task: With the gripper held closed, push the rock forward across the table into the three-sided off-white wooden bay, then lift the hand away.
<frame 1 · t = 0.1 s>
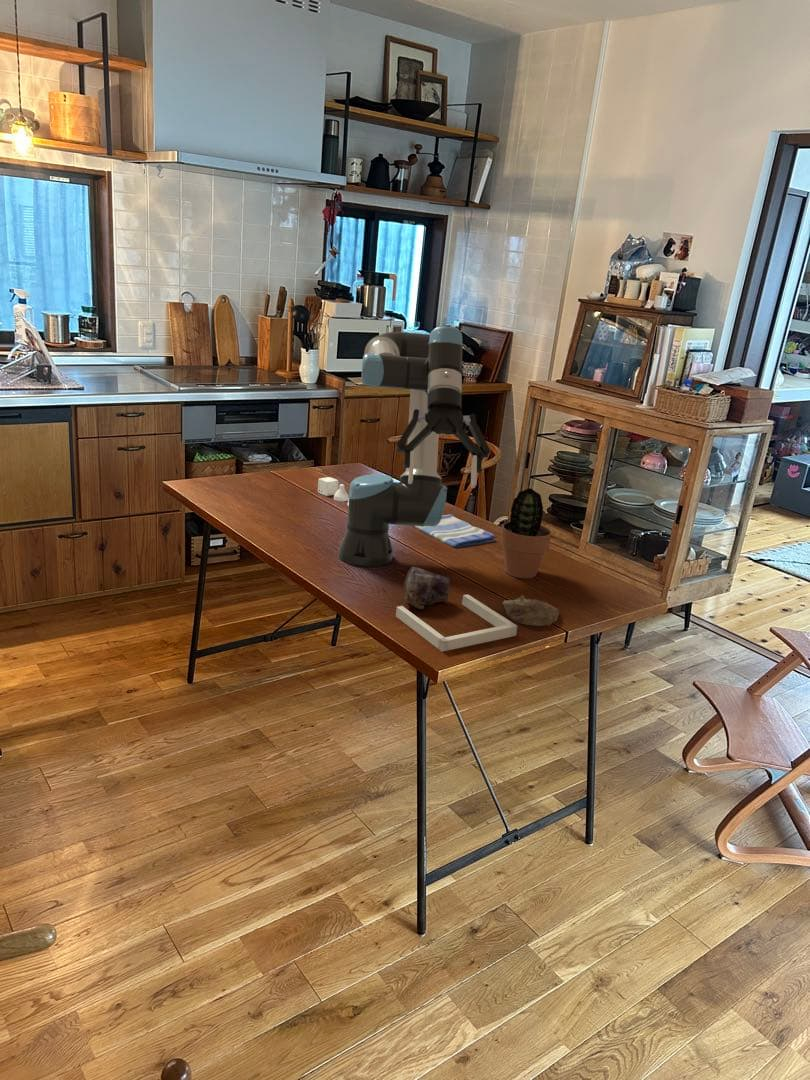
hand: (442, 484, 174), 36 cm above the table, fingers open, 13 cm apart
bay: (453, 624, 193), on the table
container set: (341, 500, 281), on the table
oyster shell: (532, 616, 202), on the table
dish towel: (451, 535, 257), on the table
rock: (421, 602, 204), on the table
potted plant: (520, 573, 229), on the table
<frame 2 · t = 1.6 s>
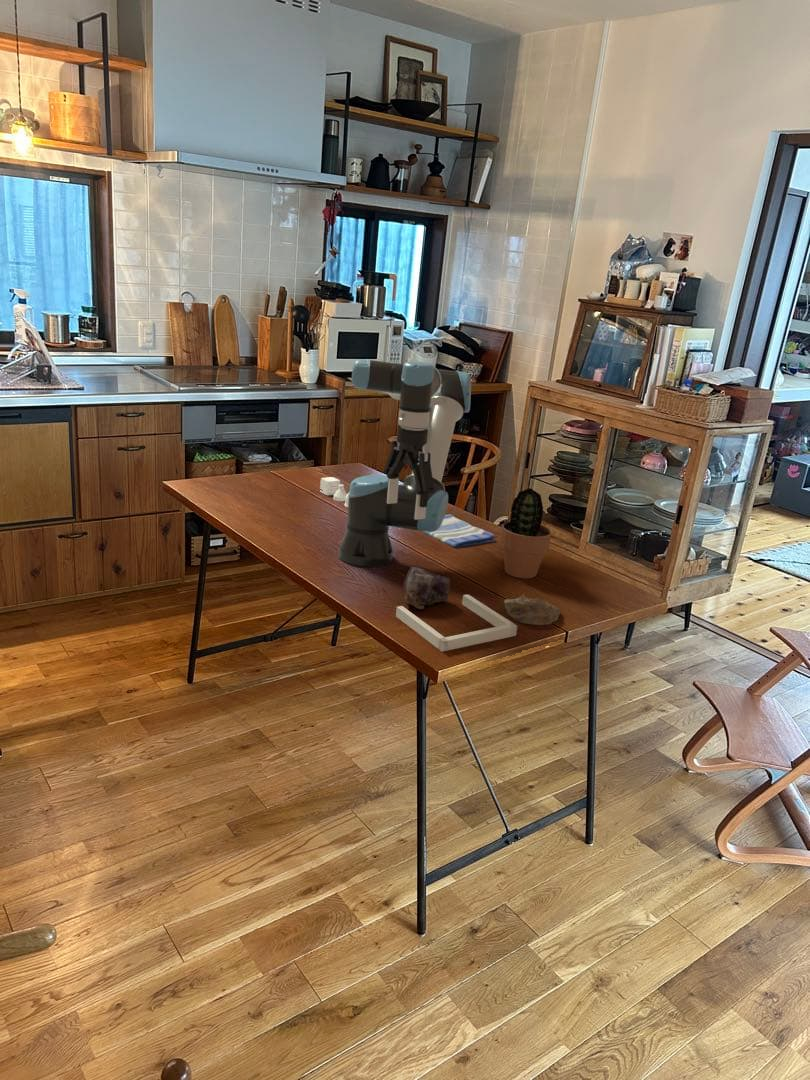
hand: (405, 510, 206), 20 cm above the table, fingers open, 12 cm apart
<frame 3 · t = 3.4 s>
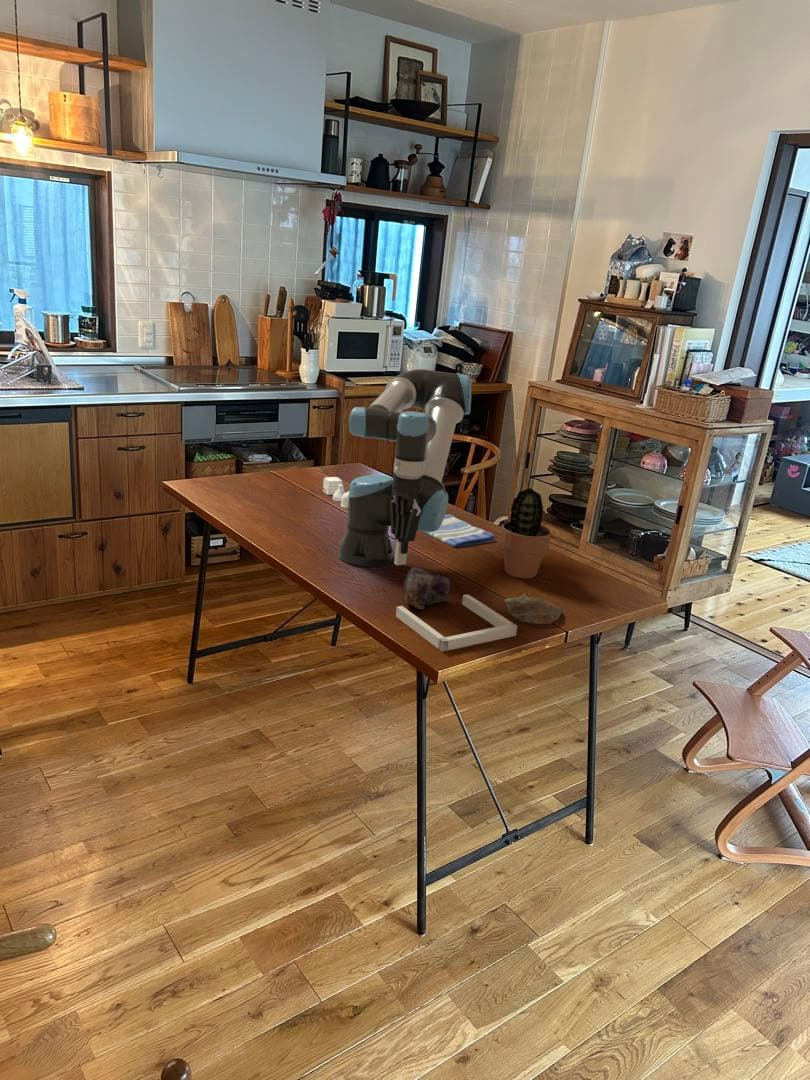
hand: (400, 563, 210), 6 cm above the table, fingers closed
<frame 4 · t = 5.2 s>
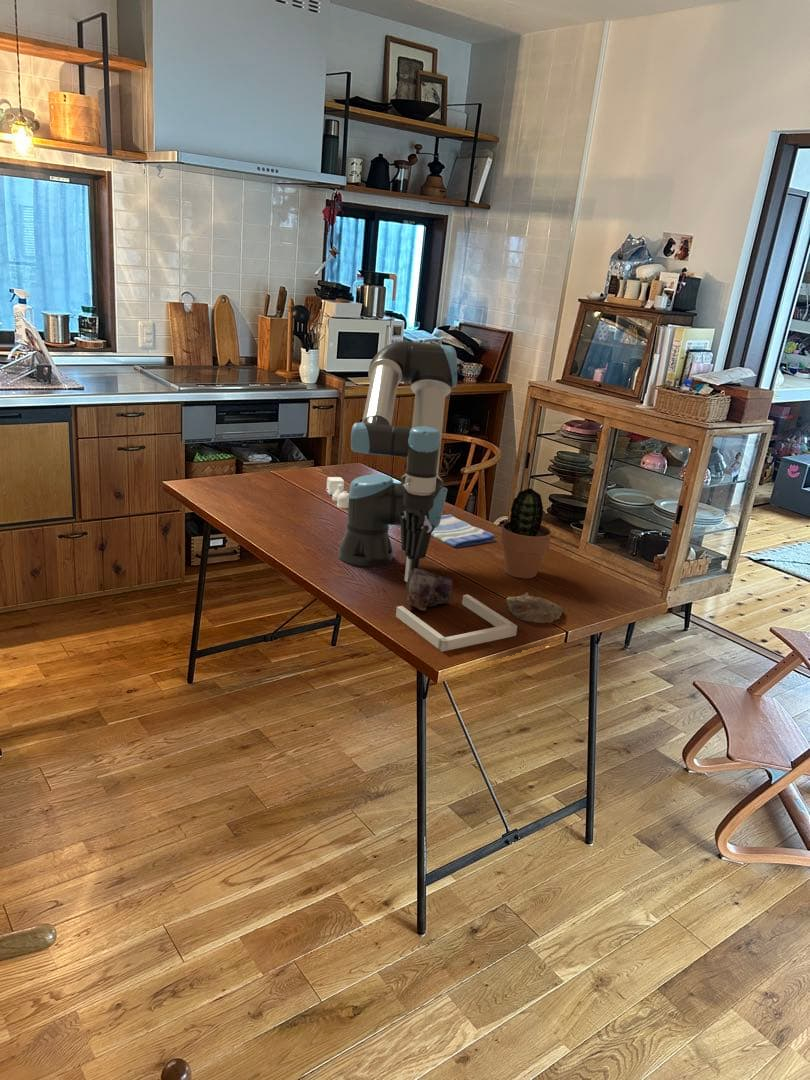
hand: (410, 580, 206), 4 cm above the table, fingers closed
rock: (423, 604, 203), on the table, touching gripper
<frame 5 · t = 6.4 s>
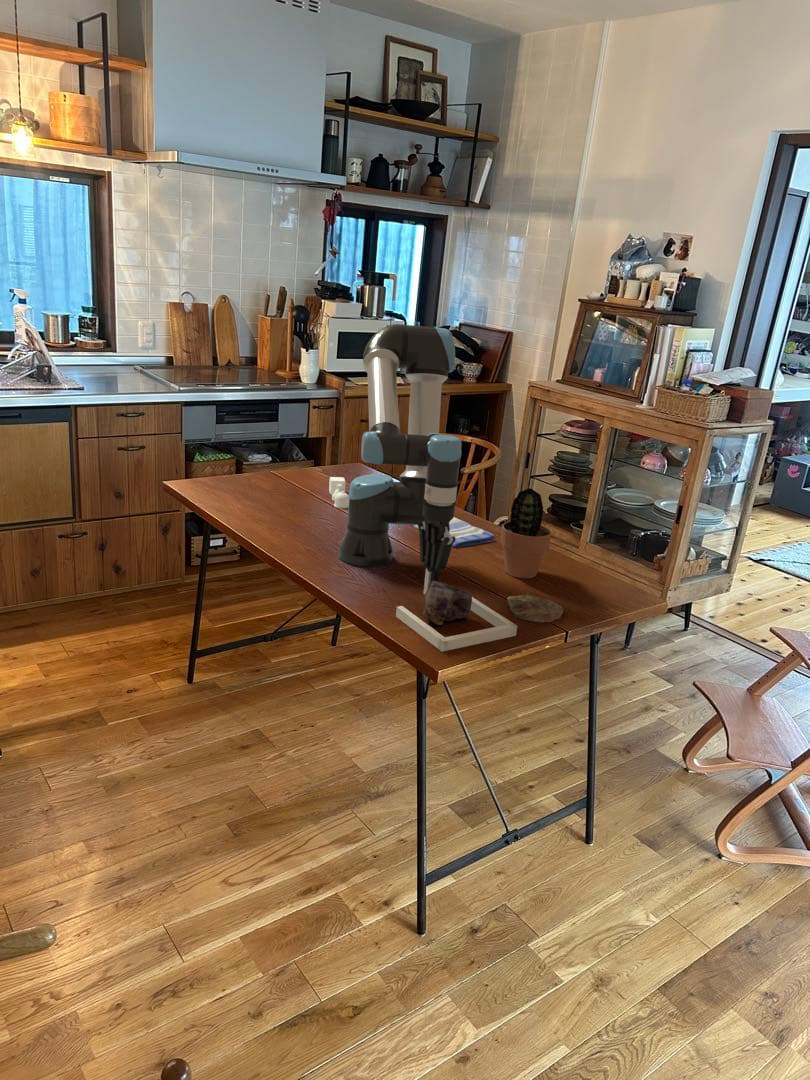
hand: (429, 593, 200), 4 cm above the table, fingers closed
rock: (441, 618, 196), on the table, touching gripper
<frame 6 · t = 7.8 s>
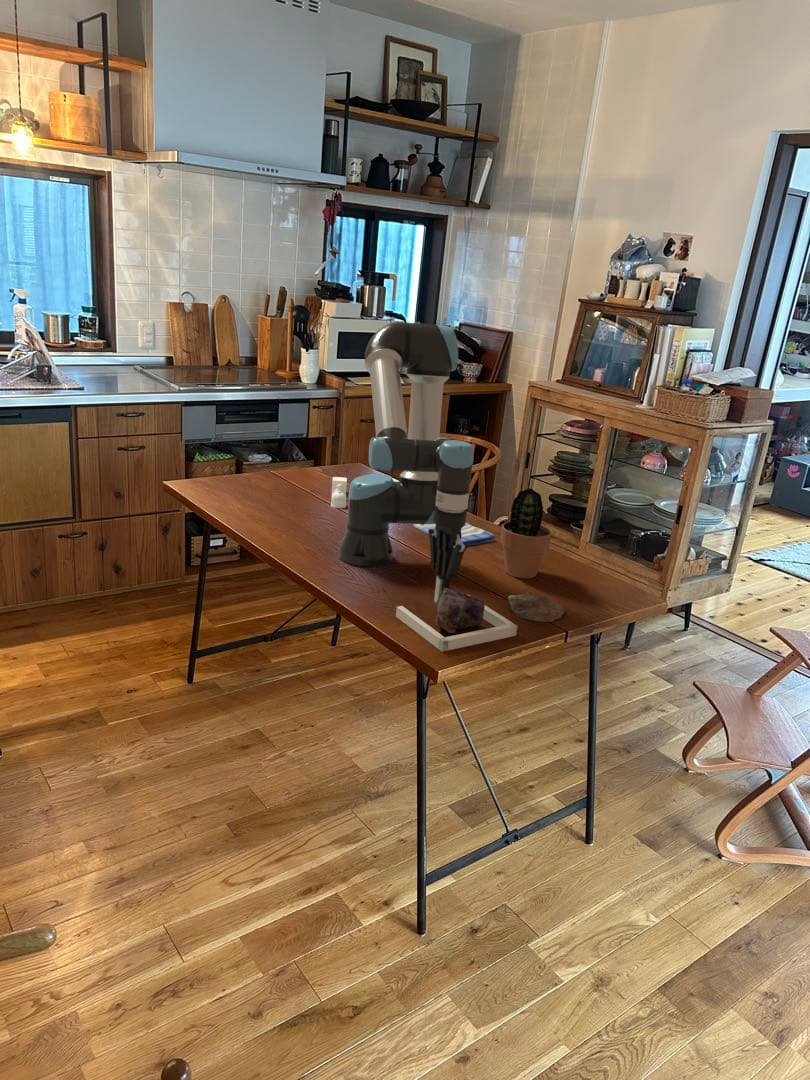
hand: (440, 601, 196), 3 cm above the table, fingers closed
rock: (453, 626, 192), on the table, touching gripper
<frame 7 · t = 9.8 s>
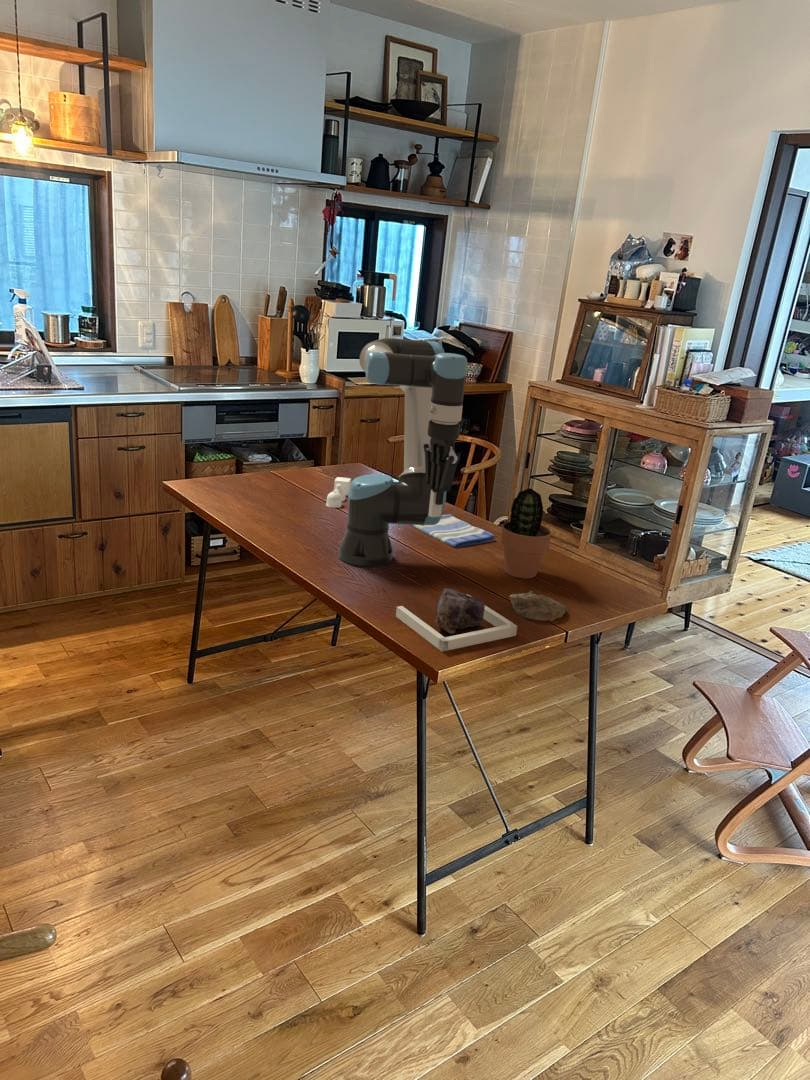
hand: (434, 515, 200), 22 cm above the table, fingers closed
rock: (453, 626, 192), on the table
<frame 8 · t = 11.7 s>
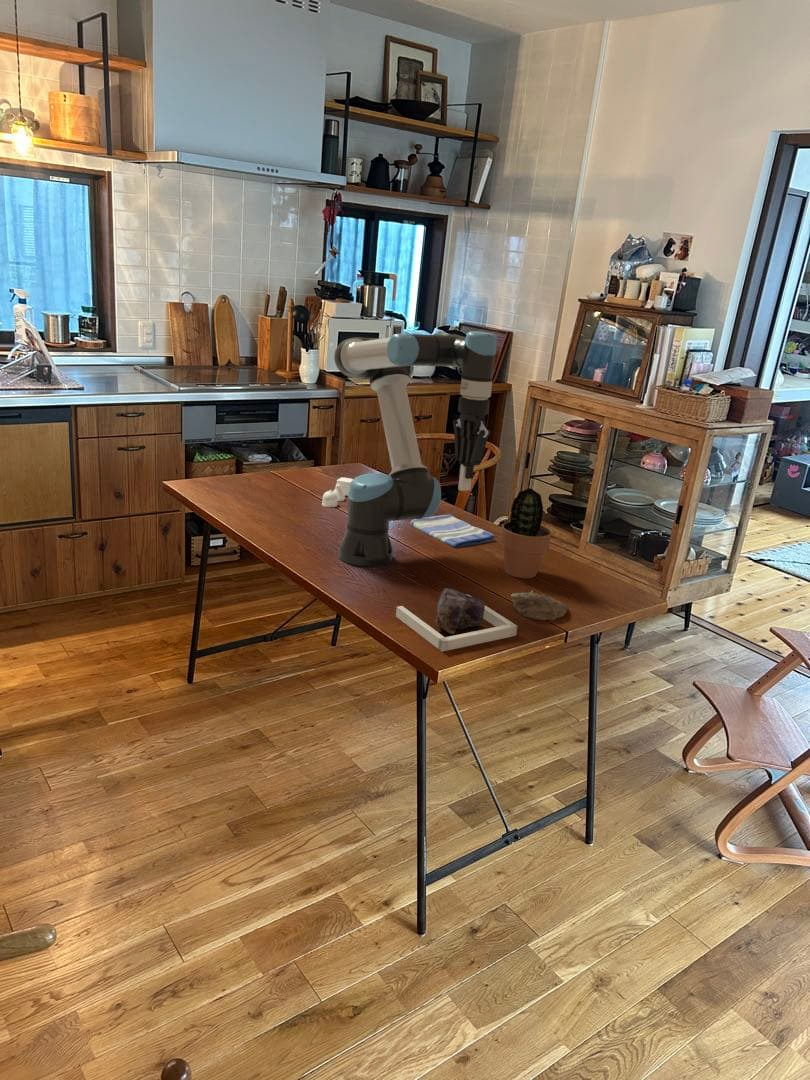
hand: (464, 489, 207), 26 cm above the table, fingers closed
at the end: rock inside the target area on the bay (1.3 cm from its centre), point 0.0 cm above the bay's base; rock moved 14.5 cm from its start; rock tilted 0° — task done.
